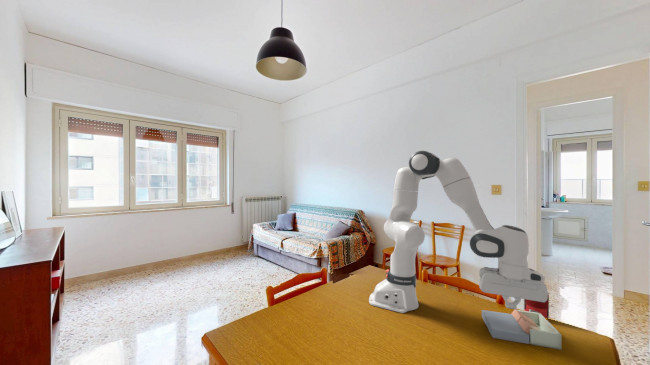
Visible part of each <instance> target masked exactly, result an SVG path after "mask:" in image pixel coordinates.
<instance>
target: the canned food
mask: <svg viewBox="0 0 650 365" xmlns="http://www.w3.org/2000/svg"><path fill="white" fill-rule="evenodd" d="M547 293H548V299H547V301H546V302H539V301H533V300H527V299H523V302H524V304H523V309H524V310H523V311H528V312H536V313H540V314H541V315H542V316H543V317H544V318H547V319H548V320H549V317H550V314H549V310H550V304H549V303H550V296H549V295H550V294H549V291H548V290H547Z"/></svg>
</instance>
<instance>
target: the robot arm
mask: <svg viewBox="0 0 650 365" xmlns="http://www.w3.org/2000/svg"><path fill="white" fill-rule="evenodd" d="M408 160H409V161H408V166H403V167H400V168H399V169H398V170H397V172H396V175H395V178H394V184H393V191H392V192H393V193H392V203H391V209H390V212H389V215H388V218H387V220H386V221H385V222H384V224H383V232H384V233H385V235H386V237H388V238H389V239H390V240H392V241H394V242H395V245H394V250H393V251H392V253H391V254H390V258H389V259H390V261H389V262H390V266H389V267H390V268H389V269H386V270H385V278H384V279H383V280H382V281H380V282H378V283H377V284H376V285H375V287H374V290H373V292H372V293H370V295H369V298H368V303H369V304H370V305H371V306H373V307H377V308H381V309H385V310H389V311H393V312H396V313H397V312H398V313H400V314H401V313H402V314H405V313H407V312H410V311H413V310H417V309H418V308H419V306H420V304H419V302H418V301H419V300H418V297H417V291H416V290H417V289H416V287H417V275H416V257H417V253H418V249H419V248H420V247H421V246H422V245H423V243H424V241H425V238H426V237H425V236H426V235H425V231H424V229H423V228H422V227H421V226H420V225H419V224H417V223H416V222H412V221H411V218H412V215H413V213H414V212H415V211H416V210H417V208H418V201H419V200H418V197H419V184H420V181H421V180H425V179H430V178H433V177H437V179H438V180H439V182H440V183H441V186H442V189H443V190H444V193H445V195H446V196H447V197H448V199H449V200H450V202H451V203H452V204H454V205H456V206H458V207H459V208H461V210H463V212H465V214H466V216H467V217H468V220H469V222H470V224H471V226H472V227H473V229H474V235H472V236H471V238H470V239H469V247H470V249H471V251H472V252H473V253H474V254H475V255H476V256H478V257H480V258H487V259H488V258H492V259H495V258H497V267H496V268H495V267H488V266H484V267H481V268H479V273H478V274H479V277H480V278H479V285H478V287H479V289H480V290H481V292H482V293H487V294H492V295H498V296H501V297H502V298H503V301H505V307H506V309H512V310H514V309H515V310H517V309H518V308H517V306H518V305H519V304H520V303H521V299H523V300H524V299H527V300H533V301H539V302H546V301H547V299H548V293H549V292H548V293H547V291H548V287H547V285H546V283H545V281H546V278H545V275H543V274H542V273H540V271H537V270H535V269H533V268H529V263H528V255H529V246H530V245H529V236H528V233H527V232H526V231H525V230H523V229H522V228H520V227H517V226H512V225H509V224H504V225H503V224H502V225H501V226H499V227H497V228H494V227H493V226H492V225H491V223H490V221H489V219H488V217H487V216H486V215H487V214H485V212H484V209H483V207H482V206H481V204H480V201H479V197H478V195H477V190H476V187H475V185H474V182H473V180H472V178H471V176H470V173H469V172H468V170H467V169H466V167H465V166H464V165H463V163H462V162H461V161H460V160H459V159H458V158H456V157H446V158H445V159H440V158H439V157H438V156H437V155H436V154H434V153H432V152H429V151H427V150H419V151H416V152H414V153H413V154H412V155H411V156H410V158H409V159H408ZM509 297H510V298H514V301H513V302H510V301H508V300H509Z"/></svg>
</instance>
